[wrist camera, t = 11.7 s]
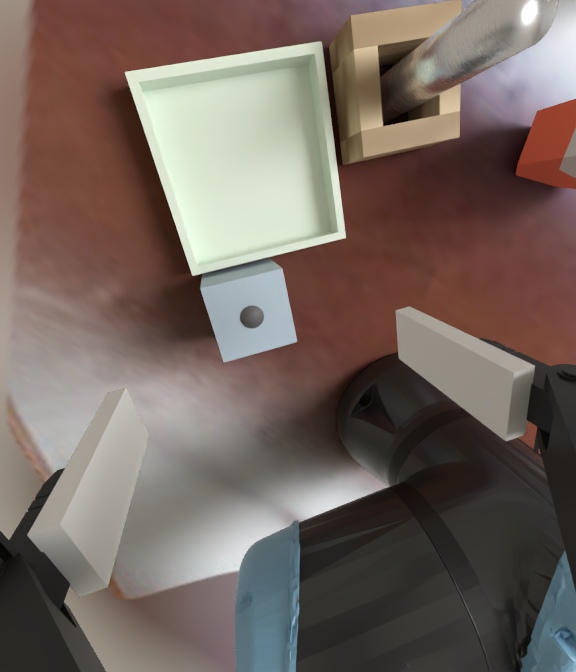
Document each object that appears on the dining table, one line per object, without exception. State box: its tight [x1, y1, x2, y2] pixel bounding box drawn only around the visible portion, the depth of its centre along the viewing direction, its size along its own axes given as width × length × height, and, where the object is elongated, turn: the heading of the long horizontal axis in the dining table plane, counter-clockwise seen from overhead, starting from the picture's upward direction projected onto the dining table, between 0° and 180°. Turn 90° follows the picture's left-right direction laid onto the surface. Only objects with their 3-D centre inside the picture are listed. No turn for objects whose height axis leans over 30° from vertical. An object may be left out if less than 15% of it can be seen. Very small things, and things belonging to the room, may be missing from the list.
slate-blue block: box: [200, 258, 297, 362], centre depth 26 cm, size 6×6×6 cm
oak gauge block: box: [329, 0, 462, 165], centre depth 24 cm, size 8×8×4 cm
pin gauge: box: [380, 0, 558, 123], centre depth 20 cm, size 3×3×13 cm
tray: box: [125, 41, 346, 276], centre depth 24 cm, size 13×13×2 cm
